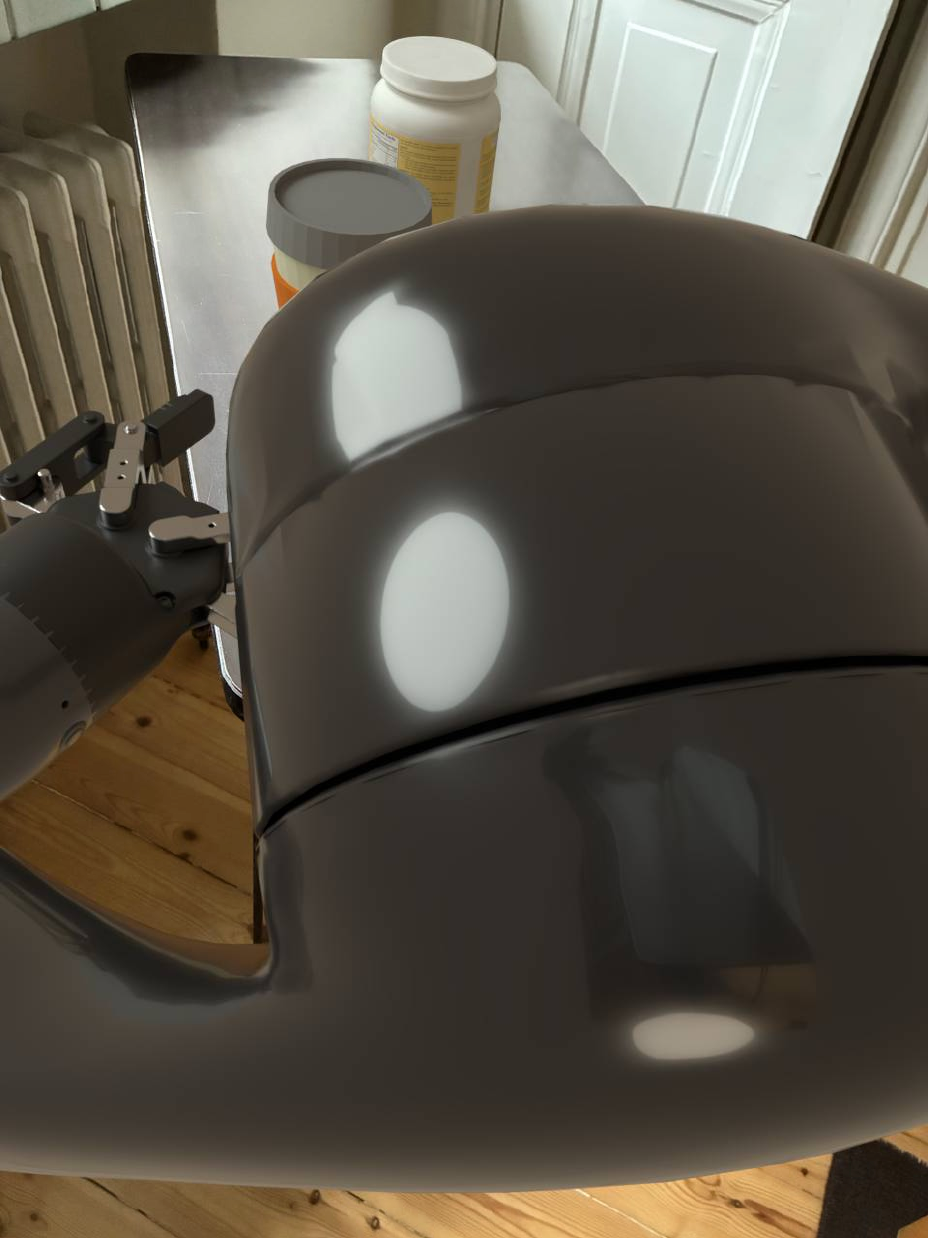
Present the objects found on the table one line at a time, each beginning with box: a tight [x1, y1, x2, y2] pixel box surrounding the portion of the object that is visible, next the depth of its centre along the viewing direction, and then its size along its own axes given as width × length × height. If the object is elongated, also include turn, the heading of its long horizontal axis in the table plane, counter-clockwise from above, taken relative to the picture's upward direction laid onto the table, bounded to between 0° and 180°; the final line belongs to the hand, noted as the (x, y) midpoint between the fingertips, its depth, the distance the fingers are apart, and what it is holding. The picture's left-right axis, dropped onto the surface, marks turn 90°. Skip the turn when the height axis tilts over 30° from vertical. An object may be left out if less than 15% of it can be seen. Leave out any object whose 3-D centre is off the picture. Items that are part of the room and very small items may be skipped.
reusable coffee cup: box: [265, 157, 432, 310], centre depth 78 cm, size 13×13×15 cm
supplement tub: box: [368, 35, 502, 225], centre depth 94 cm, size 12×12×17 cm
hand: (280, 442), depth 46 cm, fingers open, 8 cm apart
